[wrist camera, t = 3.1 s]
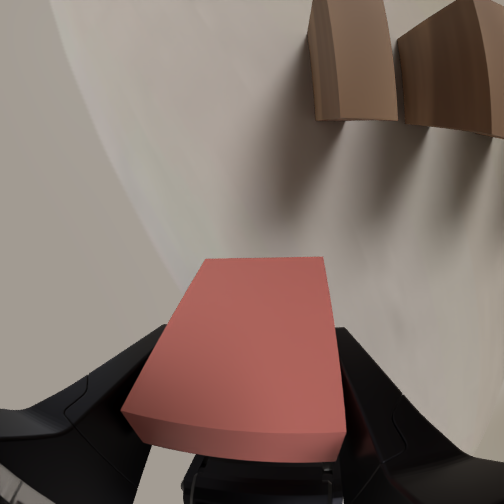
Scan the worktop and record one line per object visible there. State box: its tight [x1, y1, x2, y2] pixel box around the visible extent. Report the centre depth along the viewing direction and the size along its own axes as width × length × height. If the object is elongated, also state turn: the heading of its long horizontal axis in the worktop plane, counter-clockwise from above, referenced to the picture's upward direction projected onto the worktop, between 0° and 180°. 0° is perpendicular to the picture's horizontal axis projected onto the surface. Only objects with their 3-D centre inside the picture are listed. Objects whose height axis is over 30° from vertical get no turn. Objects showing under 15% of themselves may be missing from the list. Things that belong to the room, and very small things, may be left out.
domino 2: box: [307, 0, 398, 121], centre depth 9 cm, size 2×5×8 cm, turn 5°
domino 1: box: [120, 257, 346, 463], centre depth 9 cm, size 2×5×8 cm, turn 95°
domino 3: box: [397, 0, 504, 138], centre depth 8 cm, size 2×5×8 cm, turn 5°
